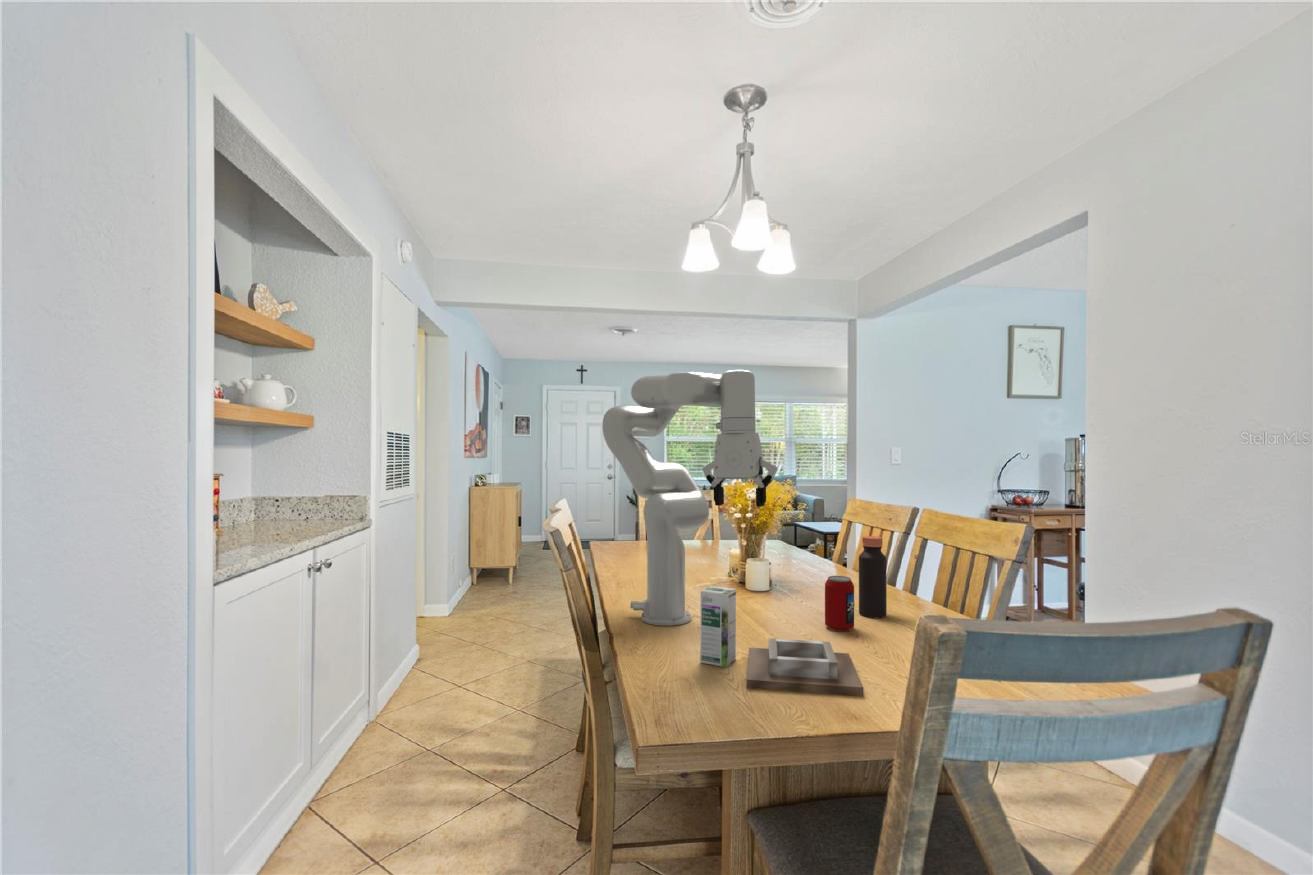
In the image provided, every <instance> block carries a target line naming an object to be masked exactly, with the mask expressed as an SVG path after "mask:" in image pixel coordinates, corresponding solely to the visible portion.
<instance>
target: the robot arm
mask: <svg viewBox="0 0 1313 875" xmlns="http://www.w3.org/2000/svg"><path fill="white" fill-rule="evenodd" d="M755 379H756V378H755V375H754V373H753V372H751V371H750V370H746V369H745V370H744V369H734V370H727V371H724V372H723V373H722V374H717V373H716V374H714V373H706V372H697V371H696V372H695V371H691V372H690V371H689V372H688V371H687V372H674V373H669V374H662V375H661V374H658V375H648V376H642V377H640V378H638V379H637V380H636V381H635V382H633V384H632V387H631V388H630V393H631V394H630V395H631V398H632V400H633V401H634V403H635V404H637V405H626V404H625V405H616V406H612V407H610V408H609V409H608V410H607V411H606V412H605V413H604V415H603V418H602V434H603V438H604V441H605V443H606V445H607V447H608V449H609V450H610V452H611V453H612V454H613V456H614V457H615V459H616V460H617V461H618V462H619V464H620V465H621V468H622V469H623V471H624V473H625V475H626V476H627V478H628V480H629V482H630V484H631V486H632V488H633V489H634V491H635V492H636V493H637V495H638V496H640V497H641V498H643V499H647V500H646V501H645V503H644V505H643V510H642V512H643V520H644V525H645V532H646V546H647V550H646V552H647V553H646V555H647V557H646V558H647V560H646V562H647V563H646V564H647V565H646V566H647V567H646V568H647V570H646V572H647V576H646V577H647V579H646V580H647V581H646V583H647V584H646V588H647V589H646V592H647V593H646V600H643V601H639V600H630V603H629V604H630V610H633V611H642V612H641V614H640V619H641V621H642V622H644V623H646V624H648V625H649V624H650V625H655V626H665V627H666V626H671V627H672V626H680V625H683V624H687V623H689V622H691V621H692V614H691V613H690V612H689V611H686V547H685V544H684V541H683V540H682V537H681V535H680V533H679V531H681V530H688V529H689V530H691V529H698V528H700V527H703V526H704V525H705V524H706V523H707V522H708V520H709V516H710V508H709V504H708V501H707V499H706V497H705V495H704V494H703V492H702V491H701V489H700V487H699V486H698V484H697V482H696V481H695V480H694V478H693V477H692V474H691V473H690V472H689V471H688V469H687V468H686V466H684V465H682V464H681V463H677V462H671V461H670V462H666V461H665V462H662V461H657V460H656V459H655V457H654V456H653V455H652V453H651V451H650V450H649V448H648V447H647V446H646V445H645V444H644V443H642V442H641V441H640V440H638V439H637V438H638V437H643V438H645V437H646V438H647V437H648V438H651V437H657V436H660V434H662V433H663V432H664V431H665V429H666V428H667V426H668V425H669V424H670V422H671V421H672V419H673V418H674V417H675V415H676V414H677V413H678V411H679V409H680V408H681V407H683V406H687V407H689V406H690V407H710V408H720V419H719V422H716V423H715V429H717V430H719V431H720V433H717V434H716V438H715V439H716V440H715V446H714V457H713V461H711V462H709V463H708V464H706V465H704V466H703V467H702V472H703V474H704V476H705V479H706V480H707V482H708V483H709V484H710V486H711V487H712V488H713V502H714V505H715V506H718V507H719V506H723V505H724V504H725V496H724V494H725V492H724V491H725V490H724V489H725V488H724V486H722V485H723V484H724V482H726V480H751V479H752V480H753V481H754V483H755V484H756V485H757V487H756V488H755V506H756V507H757V508H761V507H765V505H766V504H765V503H767V488H768V487H769V485H770V484H771V483H772V482H773V480H774V479H775V476H776V474H777V472H778V470H779V468H778V467H777V466H776V465H774V463H773V464H772V463H770V462H768V461H766V460H765V459H763V458H764V457H763V451H762V450H763V449H762V444H761V438H760V435H759V432H757V431H756V430H757V428H756V388H755V387H756V384H755V383H756V380H755ZM636 437H637V438H636ZM764 468H765V469H766V470H768V472H767V474H766V476H765V477H764V476H763V475H764ZM712 470H713V472H712Z"/></svg>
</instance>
